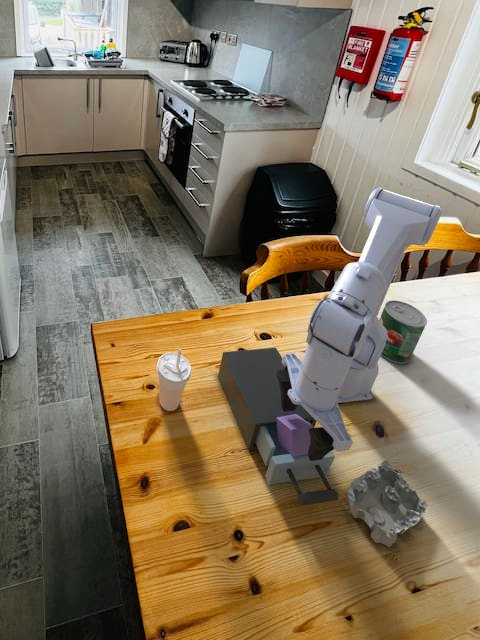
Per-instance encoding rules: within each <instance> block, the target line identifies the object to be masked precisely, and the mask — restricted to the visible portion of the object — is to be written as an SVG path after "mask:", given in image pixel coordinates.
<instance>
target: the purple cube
mask: <svg viewBox="0 0 480 640" xmlns="http://www.w3.org/2000/svg"><path fill="white" fill-rule="evenodd" d="M309 428H313V426H312V425H311V424H310V423H308V422H307V421H305V420H304V419H303V418H301V417H300V416H299V415H297V414H294V415H288V416H282V417H277V432H278V443H279V444H280V445H281V446H283V447H284V448H285V449H286V450H287V451H288V452H289V453H290V454H291V455H293V456H294V457H295V456H300V455H304V454H308V450H309V446H310V433H309V431H308V430H309Z"/></svg>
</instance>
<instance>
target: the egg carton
mask: <svg viewBox="0 0 480 640" xmlns="http://www.w3.org/2000/svg"><path fill="white" fill-rule="evenodd" d="M348 486H349V487H348V491H347V494H346V495H347V498H346V499H347V500H346V501H347V502H348V504H349V513H350V514H351V515H352V516H353V518H354V519H361V520H363V521H364V522H365V524H367V526H368V527H369V529H370V535H369V536H370V538H372V541H373V542H375V543H376V544H383V545H385V546H386V547H388V548H390V547H391V546H392V545H393V544H395V543H396V540H397V539H398V534H400V535H404V533H406V532H407V530H408V529H410V528H411V527H414V526H415V525H417V524H418V523H419V522H420V520H421V519H422V517H423V516H424V514H425V513H426V509H427V508H428V504H427V502H426V500H423V499H421V497H420V496H419V495H418V493H417V490H416V489H415V488H413V487H412V486H410V484H409V483H408V481H407V480H406V479H404V477H403V476H402V475H401V473H399V472H398V471H396V470H395V468H394V467H393V465H392V464H391V463H390V461H388V460H386V459H385V460H384V461H382V462H380V463H378V464H377V465H376V466H375V467H372V469H369V470H367V471H365V472H364V473H362V474H361V475H360V476H358V477H357V478H355V479H353V480H352V481H351V482H350V483H349V485H348Z"/></svg>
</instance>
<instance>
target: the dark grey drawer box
mask: <svg viewBox="0 0 480 640" xmlns="http://www.w3.org/2000/svg"><path fill="white" fill-rule="evenodd" d="M282 359H283V356H282V355H281V353H280V351H279V350H278V349H277V347H270V348H269V347H267V348H254V349H244V350H233V351H223V352H222V355H221V360H220V365H219V369H218V374H217V378H218V380H219V383H220V386H221V388H222V390H223V393H224V395H225V398H226V400H227V403H228V405H229V408H230V410H231V412H232V415H233V416H234V419H235V422H236V424H237V426H238V429H239V431H240V433H241V436H242V438H243V442H244V443H245V447H246V448H247V451H255V450H258V447H257V445H256V443H255V440H256V436H257V433H258V429H259V427H260V426H268V425H276V424H277V417H282V416H288V415H294V414H297V415H299V416H300V417H301V418H303V419H304V420H305V421H310V423H311V425H312V426H313V428H316V424H317V423H318V422H317V421H316V420H315V419H314V418H313V417H312V416H311V415H310V414H309V413H308V412H307V411H306V410H305V409H304V408H303V407H302V406H301V405H299V404H298V406H297V408H296V409H295V410H294V411H285V412H284V411H283V410H282V405H281V390H280V385H279V381H278V378H277V376H276V373H277V371H278V370H284V368H285V366H284V365H283V364H282Z"/></svg>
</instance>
